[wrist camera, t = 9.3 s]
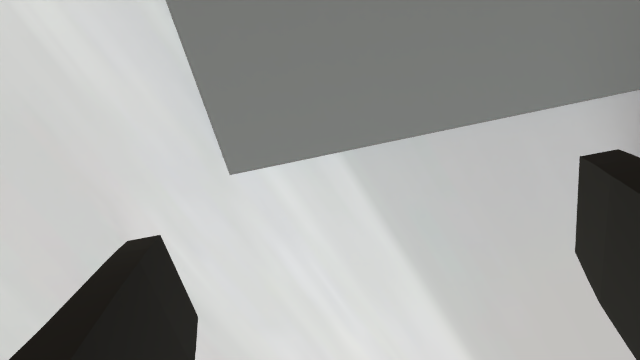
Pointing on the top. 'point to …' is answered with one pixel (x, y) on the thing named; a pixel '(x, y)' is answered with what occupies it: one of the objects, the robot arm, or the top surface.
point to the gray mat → (393, 67)
